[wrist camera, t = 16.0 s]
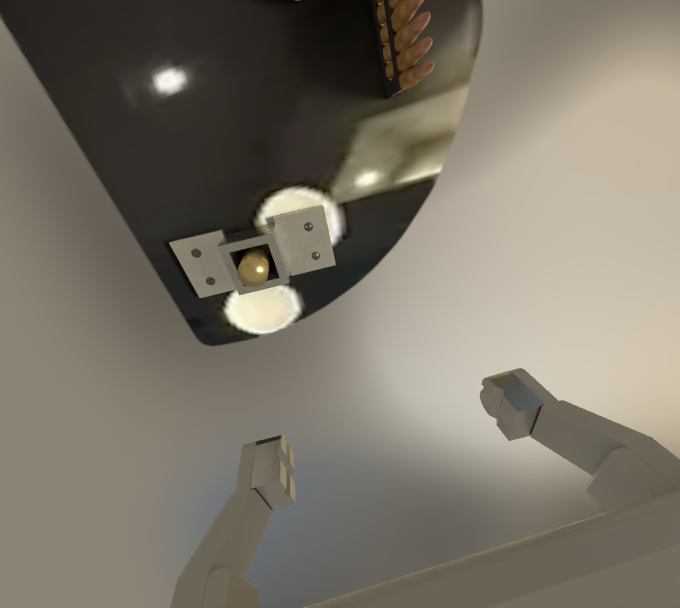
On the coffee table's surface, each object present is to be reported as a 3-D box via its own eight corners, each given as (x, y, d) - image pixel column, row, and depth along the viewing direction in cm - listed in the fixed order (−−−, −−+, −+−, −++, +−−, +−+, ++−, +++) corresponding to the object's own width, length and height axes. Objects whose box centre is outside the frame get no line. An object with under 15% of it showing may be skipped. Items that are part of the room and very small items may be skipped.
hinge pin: (242, 243, 42) (232, 264, 34) (266, 238, 42) (262, 257, 35) (251, 265, 44) (243, 290, 37) (274, 260, 44) (271, 283, 37)
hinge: (171, 240, 40) (154, 253, 35) (322, 205, 41) (327, 213, 36) (201, 294, 45) (191, 313, 40) (334, 262, 47) (340, 276, 41)
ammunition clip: (399, 94, 36) (443, 73, 26) (386, 99, 36) (425, 80, 26) (383, -19, 30) (432, -104, 20) (368, -13, 30) (409, -95, 20)
